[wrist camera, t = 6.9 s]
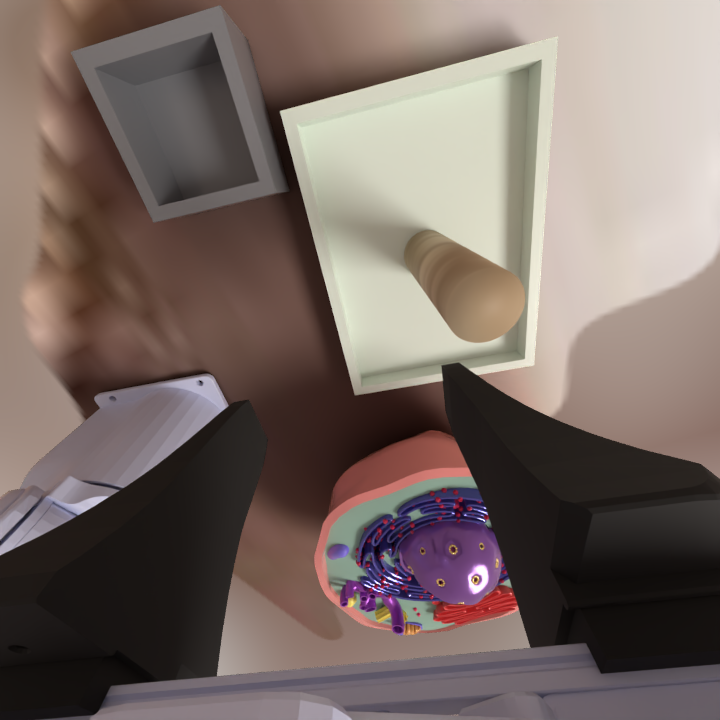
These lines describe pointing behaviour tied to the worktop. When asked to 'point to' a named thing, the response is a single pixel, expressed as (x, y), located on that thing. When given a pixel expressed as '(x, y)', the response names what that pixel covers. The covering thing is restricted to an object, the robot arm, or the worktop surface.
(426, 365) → the tray
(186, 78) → the grey square box
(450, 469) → the cell model
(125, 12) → the worktop surface
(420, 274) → the dowel
